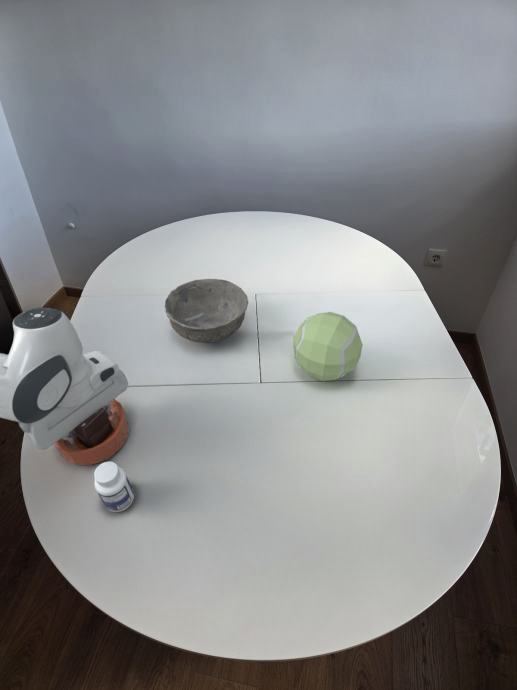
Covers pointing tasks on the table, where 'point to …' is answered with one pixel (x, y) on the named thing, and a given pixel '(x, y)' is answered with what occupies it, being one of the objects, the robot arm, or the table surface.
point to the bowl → (206, 309)
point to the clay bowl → (103, 451)
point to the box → (94, 429)
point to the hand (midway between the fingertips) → (90, 428)
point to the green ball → (327, 346)
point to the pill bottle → (113, 487)
